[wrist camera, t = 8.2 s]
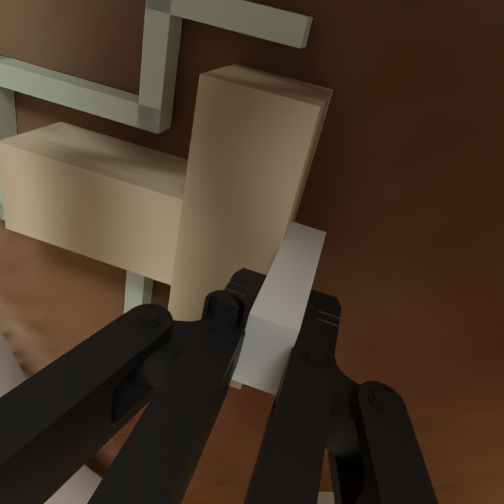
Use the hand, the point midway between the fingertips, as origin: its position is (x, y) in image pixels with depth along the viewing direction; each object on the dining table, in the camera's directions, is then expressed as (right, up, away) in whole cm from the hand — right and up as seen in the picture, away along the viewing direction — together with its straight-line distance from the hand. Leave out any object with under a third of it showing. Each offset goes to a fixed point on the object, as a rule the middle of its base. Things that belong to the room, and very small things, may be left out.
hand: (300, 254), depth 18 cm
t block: (-6, +3, +3) cm, 7 cm away
